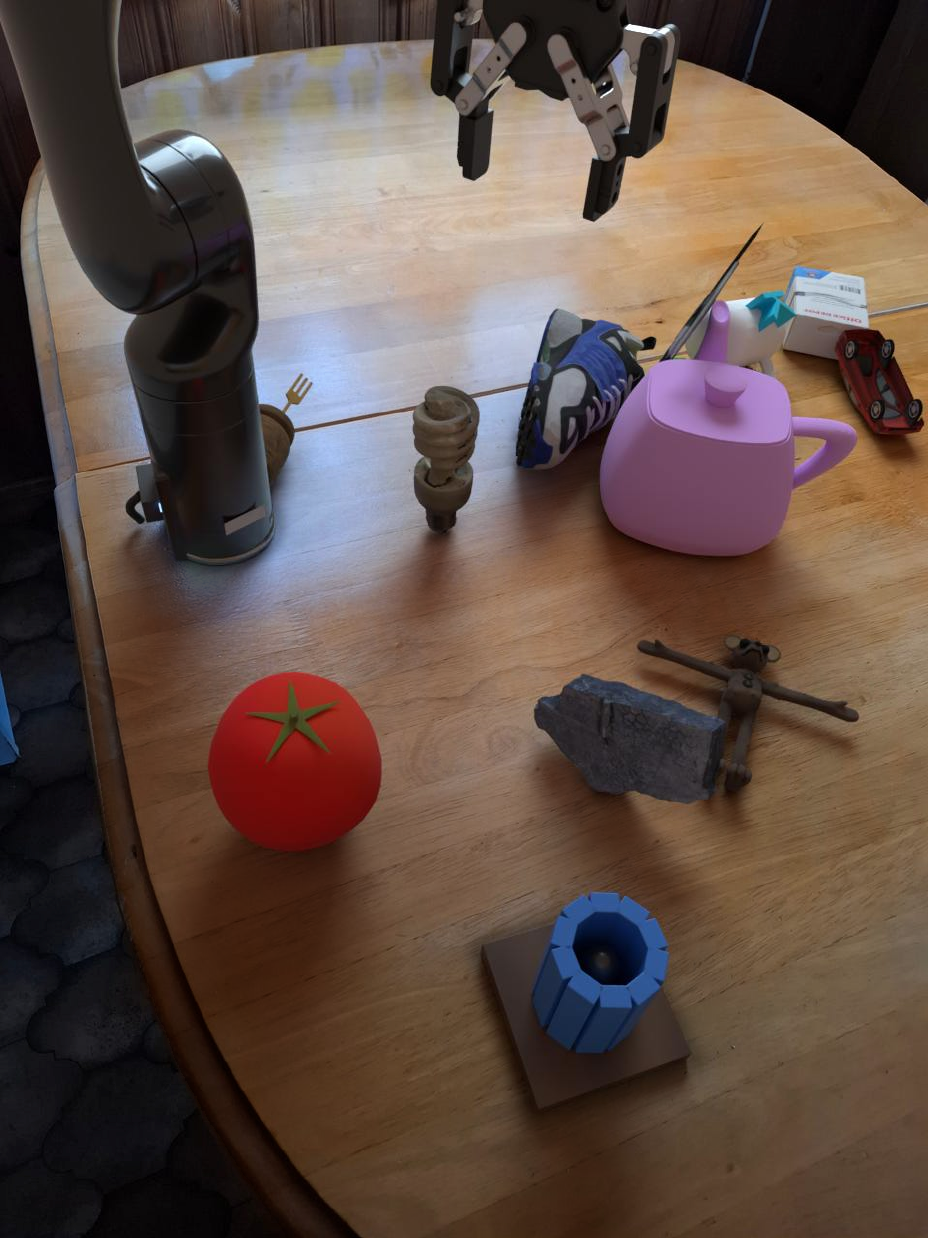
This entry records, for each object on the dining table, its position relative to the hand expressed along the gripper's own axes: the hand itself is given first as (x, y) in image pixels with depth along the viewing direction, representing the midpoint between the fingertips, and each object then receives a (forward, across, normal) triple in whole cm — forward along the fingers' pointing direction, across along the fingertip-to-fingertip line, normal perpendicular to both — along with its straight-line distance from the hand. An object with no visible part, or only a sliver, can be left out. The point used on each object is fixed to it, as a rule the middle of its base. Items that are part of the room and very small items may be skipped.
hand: (533, 195), depth 57 cm
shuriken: (+26, +2, -26) cm, 36 cm away
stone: (+33, -19, +13) cm, 41 cm away
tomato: (+33, -2, +29) cm, 44 cm away
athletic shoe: (+28, +8, -20) cm, 35 cm away
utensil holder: (+30, +23, +6) cm, 38 cm away
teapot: (+33, -12, -18) cm, 39 cm away
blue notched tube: (+32, -25, +30) cm, 50 cm away
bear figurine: (+33, -25, +3) cm, 42 cm away
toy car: (+28, -23, -46) cm, 58 cm away
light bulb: (+33, +6, -1) cm, 34 cm away
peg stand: (+33, -25, +30) cm, 51 cm away
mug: (+26, -7, -34) cm, 44 cm away
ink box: (+31, -11, -63) cm, 71 cm away
